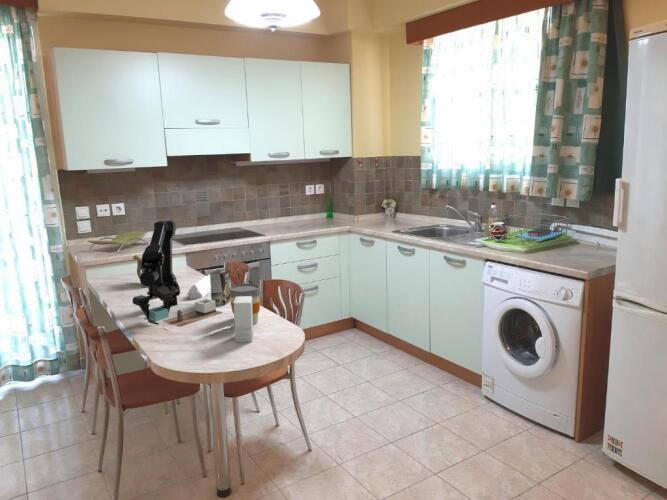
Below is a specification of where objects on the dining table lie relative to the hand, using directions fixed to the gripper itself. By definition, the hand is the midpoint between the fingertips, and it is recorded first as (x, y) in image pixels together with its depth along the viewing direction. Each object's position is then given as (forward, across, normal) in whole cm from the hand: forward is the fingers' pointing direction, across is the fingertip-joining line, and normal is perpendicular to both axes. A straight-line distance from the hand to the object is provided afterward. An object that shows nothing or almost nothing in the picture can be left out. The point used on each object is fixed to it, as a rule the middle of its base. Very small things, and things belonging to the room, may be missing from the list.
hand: (158, 316), depth 221 cm
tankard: (+2, +34, +59) cm, 68 cm away
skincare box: (+2, +7, -45) cm, 46 cm away
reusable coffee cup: (+2, +20, -32) cm, 38 cm away
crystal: (+3, +39, +20) cm, 44 cm away
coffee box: (+2, +30, -5) cm, 30 cm away
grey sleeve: (+1, +16, -11) cm, 19 cm away
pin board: (+2, +10, -11) cm, 15 cm away
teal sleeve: (+2, 0, 0) cm, 2 cm away
